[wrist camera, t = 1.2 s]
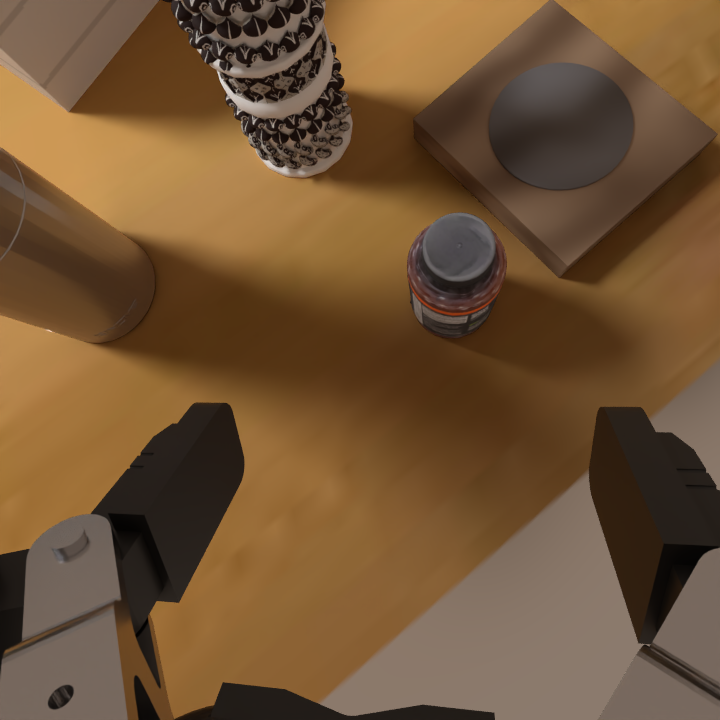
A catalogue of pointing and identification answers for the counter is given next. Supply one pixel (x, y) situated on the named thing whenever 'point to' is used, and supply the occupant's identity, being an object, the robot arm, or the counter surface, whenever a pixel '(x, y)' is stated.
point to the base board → (559, 136)
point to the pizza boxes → (65, 41)
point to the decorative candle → (275, 77)
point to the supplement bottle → (455, 274)
